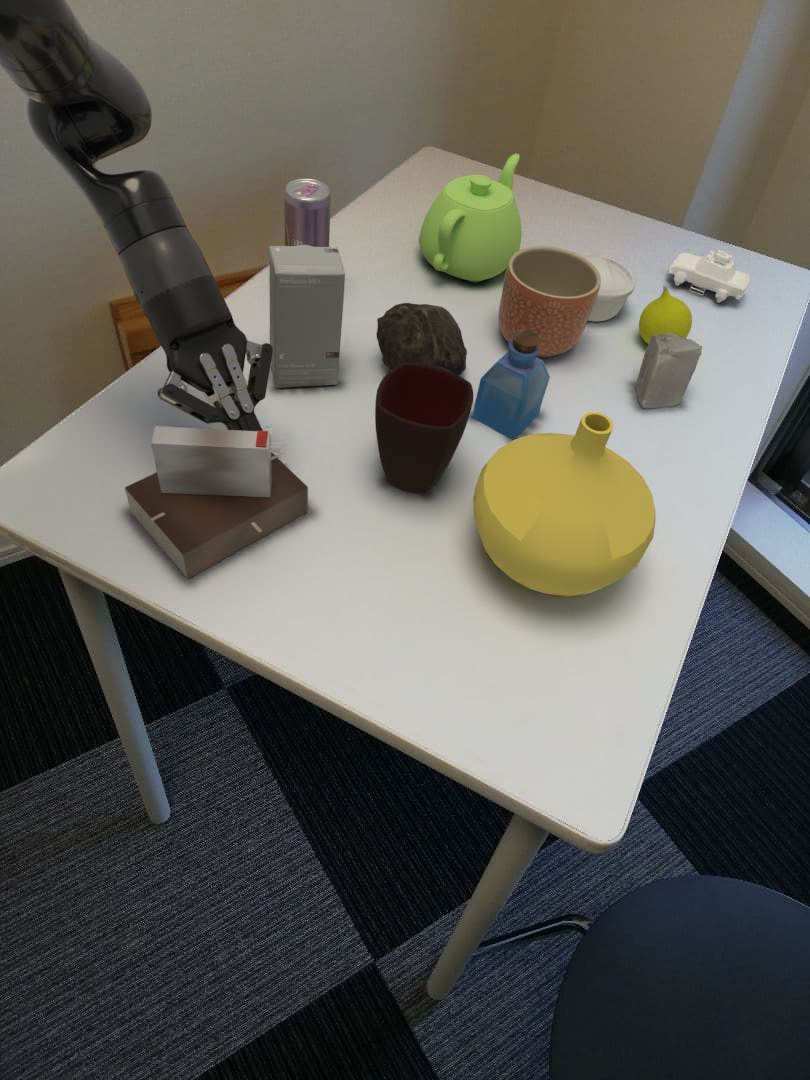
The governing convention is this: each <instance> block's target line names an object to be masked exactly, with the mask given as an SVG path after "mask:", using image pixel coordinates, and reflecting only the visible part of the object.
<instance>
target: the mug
mask: <svg viewBox="0 0 810 1080" xmlns="http://www.w3.org/2000/svg"><path fill="white" fill-rule="evenodd" d="M473 402H474V389H473V385H472V383H471V382H470V381H469V380H467V379H466V378H464V377H462V376H461V375H459V376H458V375H456V374H454V373H453V372H451V371H450V370H448V369H446V368H444V367H437V366H430V365H425V364H418V363H401V364H399V365H398V366H396V367H395V368H393V369H390V370H389V371H388V372H387V373H386V374H385V375H384V376H383V378H382V379H381V380H380V382H379V385H378V387H377V390H376V394H375V403H374V404H375V406H374V407H375V409H374V423H375V435H376V442H377V449H378V455H379V456H378V457H379V460H380V465H381V468H382V471H383V474H384V477H385V479H386V482H387V483H389V484H391V485H392V486H394V487H396V488H398V489H400V490H403V491H406V492H409V493H414V494H427V493H429V492H430V491H432V489H434V488H435V486H436V485H437V484H438V482H439V480H441V478H442V476H443V475H444V473H445V471H446V470H447V468H448V466H449V465H450V463H451V461H452V459H453V456H454V455H455V452H456V450H457V449H458V446H459V444H460V443H461V440H462V437H463V435H464V433H465V430H466V428H467V425H468V421H469V420H470V419H469V418H470V416H471V415H470V414H471V412H472V407H473Z"/></svg>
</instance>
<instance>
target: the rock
mask: <svg viewBox="0 0 810 1080" xmlns="http://www.w3.org/2000/svg"><path fill="white" fill-rule="evenodd" d="M376 321H377V328H376V340H377V343H378V346H379V350H380V353H381V361H382V363H383V365H385V366H386V367H387V368H388V369H390V370H392V369H393V368H395V367H396V366H398V365H399V364H401V363H418V364H425V365H430V366H437V367H444V368H446V369H448V370H450V371H451V372H453V373H454V374H456V375H458V376H461V374H462V373H463V372H465V371H466V369H467V356H468V350H467V348H466V346H465V343H464V339H463V335H462V330H461V327H460V326H459V324H458V322H457V321H456V319H455V318H454V317H453V316H452V314H451V313H450V311H449V310H447V309H446V308H445V307H443V306H439V305H433V304H428V303H421V304H418V303H411V302H402V303H397V304H394V305H393V306H391V308H389V309H388V310H386V311H385V312H384V314H383V315H382V316H381V317H377V320H376Z"/></svg>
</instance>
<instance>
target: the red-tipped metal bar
mask: <svg viewBox="0 0 810 1080" xmlns="http://www.w3.org/2000/svg"><path fill="white" fill-rule="evenodd" d="M271 444H272V443H271V431H268V430H263V431H240V430H228V429H220V428H219V429H218V428H198V427H197V428H196V427H180V426H179V427H178V426H161V425H160V426H159V425H157V426H155V425H154V429H153V434H152V438H151V443H150V445H151V449H152V454H153V459H154V465H155V470H156V472H157V474H158V479H159V484H160V488H161V493H175V494H199V495H224V496H248V497H271V487H272V466H271V452H272V446H271Z"/></svg>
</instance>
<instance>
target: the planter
mask: <svg viewBox="0 0 810 1080" xmlns="http://www.w3.org/2000/svg"><path fill="white" fill-rule="evenodd" d="M578 254H579V253H576V252H573V251H572V250H568V249H565V248H561V247H556V246H549V245H534V246H528V247H524V248H521V249H520V250H519V251H518V252H516V253H515V254H514V255H513V256H512V257H511V258H510V260H509V263H508V266H507V268H506V269H505V274H504V279H503V284H502V285H503V286H502V291H501V297H500V302H499V307H498V327H499V329H500V332H501V334H502V336H503V337H504V339H505V340H506V341H507V342H508V344H509V343H510V341H511V340H512V339H513V333H514V332H515V331H517V330H520V329H526V330H530V331H533V332H535V333H536V334H537V335H538V336H539V338H540V342H539V343H538V347H539V349H538V354H537V357H538V358H539V357H540V358H544V357H545V358H546V357H554V356H558V355H560V354H564V353H565V352H567V351H569V350H571V349H572V348H573V347H574V346H575V345H576V344H577V343H578V342H579V340H580V339H581V337H582V335H583V333H584V331H585V329H586V326H587V324H588V321H587V320H588V318H589V315H590V313H591V311H592V308H593V306H594V303H595V300H596V298H597V295H598V292H599V289H600V284H601V277H600V274H599V272H598V270H597V269H596V267H595V266H594V265H593V264H592V263H591V262H589V261H588V260H587V259H585V258H584V257H582V256H580V255H578Z"/></svg>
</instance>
